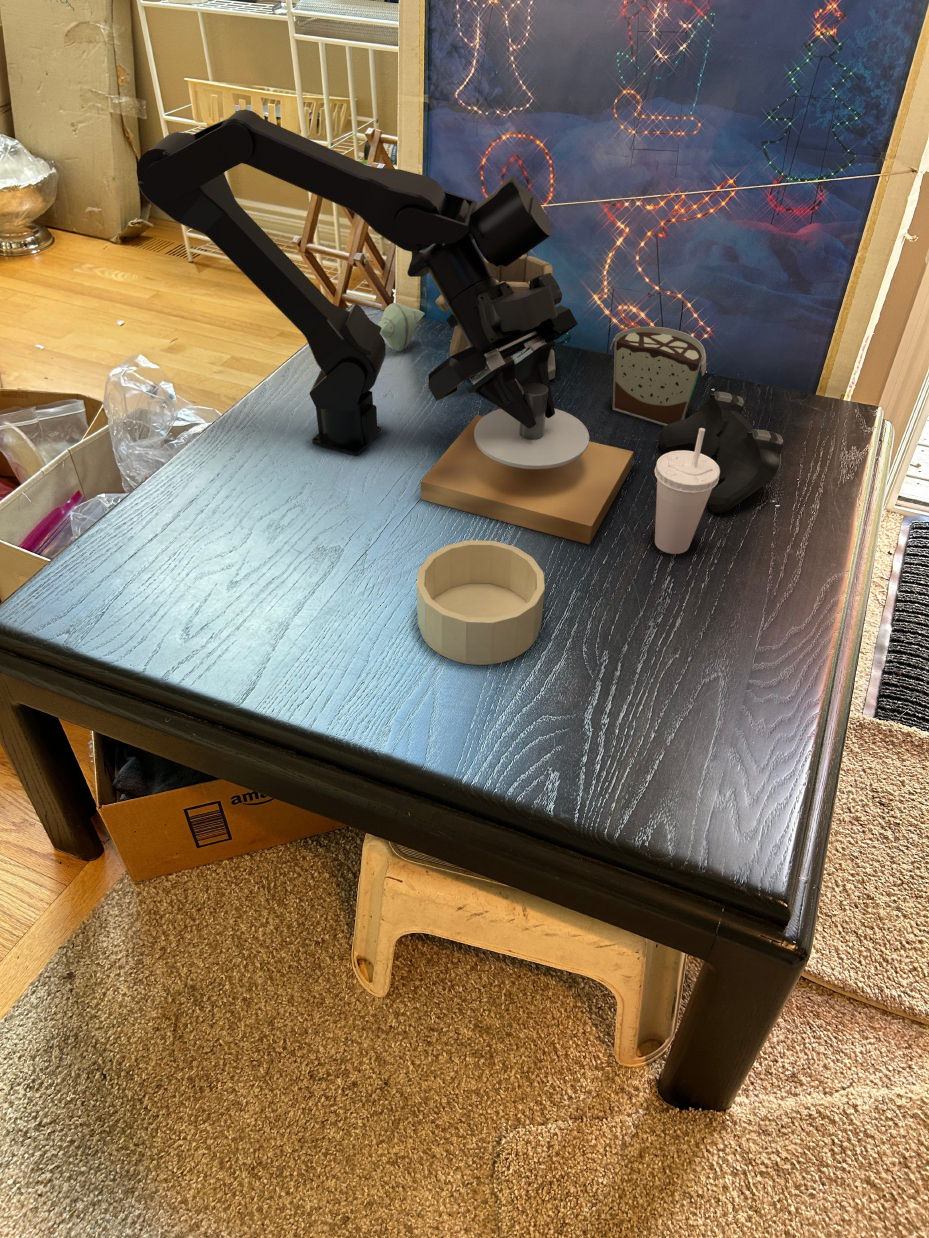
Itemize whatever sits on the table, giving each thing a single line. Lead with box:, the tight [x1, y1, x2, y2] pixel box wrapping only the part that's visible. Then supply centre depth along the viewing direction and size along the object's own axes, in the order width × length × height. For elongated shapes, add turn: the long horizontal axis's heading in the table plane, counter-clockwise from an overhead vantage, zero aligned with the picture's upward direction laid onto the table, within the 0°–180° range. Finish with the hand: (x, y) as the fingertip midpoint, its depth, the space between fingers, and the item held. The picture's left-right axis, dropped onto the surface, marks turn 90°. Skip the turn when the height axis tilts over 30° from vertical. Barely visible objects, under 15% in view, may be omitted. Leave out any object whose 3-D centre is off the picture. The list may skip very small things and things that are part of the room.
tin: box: [416, 539, 546, 666], centre depth 85 cm, size 12×12×5 cm
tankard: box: [435, 254, 557, 392], centre depth 119 cm, size 20×13×15 cm, turn 133°
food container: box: [609, 326, 707, 427], centre depth 114 cm, size 12×6×10 cm, turn 58°
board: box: [420, 414, 634, 546], centre depth 104 cm, size 20×16×2 cm
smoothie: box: [654, 428, 720, 555], centre depth 92 cm, size 6×6×14 cm
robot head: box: [376, 302, 426, 352], centre depth 127 cm, size 8×4×7 cm, turn 134°
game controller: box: [658, 391, 784, 514], centre depth 105 cm, size 16×7×10 cm, turn 16°
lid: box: [474, 383, 590, 469], centre depth 99 cm, size 13×13×7 cm
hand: (542, 421), depth 98 cm, fingers closed on lid, 3 cm apart
